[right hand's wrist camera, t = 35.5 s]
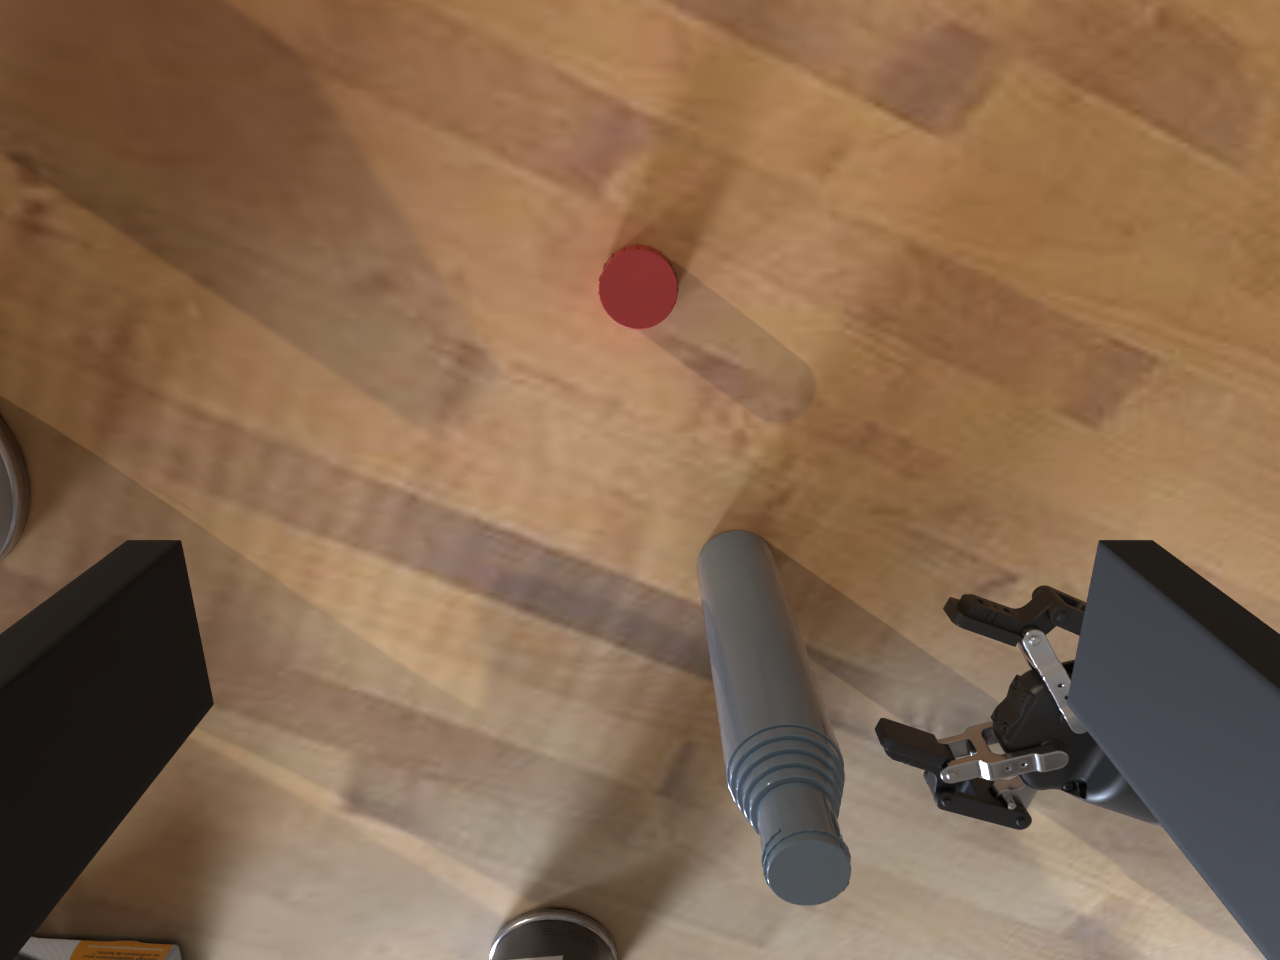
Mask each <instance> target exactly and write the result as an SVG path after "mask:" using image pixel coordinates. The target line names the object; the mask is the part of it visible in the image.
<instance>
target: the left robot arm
mask: <svg viewBox="0 0 1280 960" xmlns="http://www.w3.org/2000/svg"><path fill="white" fill-rule="evenodd" d="M1085 608H1086V602H1083V601H1081V600H1079V599H1077V598H1074V597H1072V596H1070V595H1067V594H1065V593H1063V592H1061V591H1058V590H1056V589H1054V588H1051V587H1049V586H1040V587H1038V588H1036V589H1035V590H1034V591H1033V594H1032V600H1031V601H1030V602H1029V603H1028V604H1026V605H1025V606H1023V607H1021V608H1017V609H1013V608H1009V607H1006V606H1003V605H1001V604H998V603H995V602H992V601H989V600H987V599H984V598H981V597H978V596H975V595H963V596H962V597H961V599H960V600H958V599H955V598H952V597H950V598H949V599H948V601H947V603H946V604H945V606H944V608H943V609H944V611H945V612H946V614H947V615H948V617H949V618H950V620H951V621H952V622H953V623H954V624H955V625H957V626H959V627H961V628H963V629H966V630H969V631H972V632H975V633H978V634H980V635H983V636H986V637H989V638H992V639H995V640H997V641H1000V642H1003V643H1006V644H1009V645H1012V646H1014V647H1015V646H1016V645H1017V643H1018V646H1019V648H1020V650H1021V652H1022V654H1023V656H1024V658H1025V659H1026V661H1027V663H1028V665H1029V667H1030V669H1031V670H1030V671H1027V672H1026V673H1024V674H1023V675H1022V676H1019V675H1016V676H1015V678H1014V680H1013V681H1012V683H1011V684H1010V687H1009V691H1008V694H1007V697H1006V698H1005V699H1004V700H1003V701H1002V702H1001V703H1000V704H999V705H998V706H997V707H996V709H995V710H994V712H993V714H992V715H991V719H992V720H993V721H991V722H987V723H983V724H979V725H974V726H970V727H968V728H967V729H966V730H965V733H964V734H961V735H957V736H953V737H948V738H944V739H940V740H937V739H936V737H935V735H933V734H930V733H927V732H924V731H921V730H918V729H915V728H912V727H910V726H907V725H904V724H901V723H898V722H895V721H892V720H889V719H886V718H881V719H880V720H879V722H878V724H877V725H876V727H875V731H876V734H877V736H878V739H879V741H880V743H881V745H882V746H883V747H884V750H885V752H886V754H887V755H888V756H889V757H890V758H892V759H893V760H896V761H899V762H902V763H905V764H909V765H911V766H914V767H917V768H920V769H923V770H925V772H924V778H925V780H926V783H927V784H928V786H929V788H930V790H931V792H932V794H933V797H934V800H935V802H936V805H937V806H938V808H940V809H942V810H946V811H949V812H953V813H957V814H961V815H965V816H968V817H972V818H976V819H980V820H983V821H987V822H991V823H995V824H999V825H1002V826H1006V827H1010V828H1014V829H1018V830H1022V829H1025V828H1027V827H1028V826H1029V825H1030V824H1031V821H1032V819H1031V817H1030V815H1029V813H1028V812H1027V807H1028V806H1029V804H1030V802H1031V801H1032V799H1033V797H1034V795H1035V794H1036V792H1037V790H1046V789H1059V790H1062V791H1065V792H1067V793H1069V794H1071V795H1073V796H1075V797H1076V798H1079V799H1081V800H1083V801H1085V802H1088V803H1091V804H1094V805H1097V806H1100V807H1103V808H1106V809H1109V810H1112V811H1115V812H1118V813H1121V814H1124V815H1127V816H1130V817H1133V818H1136V819H1139V820H1142V821H1145V822H1148V823H1151V824H1154V825H1157V826H1161V827H1162V825H1161V824H1160V823H1159V822H1158V820H1157V819H1156V818H1155V816H1154V815H1153V814H1152V813H1151V811H1150V810H1149V809H1148V808H1147V806H1146V805H1145V804H1144V802H1143V801H1142V800H1141V799H1140V797H1139V796H1138V795H1137V794H1136V792H1135V791H1134V790H1133V788H1132V787H1131V786H1130V785H1129V783H1128V782H1127V781H1126V780H1125V778H1124V777H1123V776H1122V774H1121V773H1120V772H1119V771H1118V769H1117V768H1116V767H1115V766H1114V764H1113V763H1112V762H1111V760H1110V759H1109V758H1108V757H1107V755H1106V754H1105V753H1104V752H1103V750H1102V749H1101V748H1100V746H1099V745H1098V744H1097V743H1096V741H1095V740H1094V739H1093V738H1092V736H1091V735H1090V734H1089V732H1088V731H1087V730H1086V729H1085V727H1084V726H1083V725H1082V724H1081V722H1080V721H1079V720H1078V718H1077V717H1076V716H1075V715H1074V713H1073V712H1072V711H1071V710H1070V708H1069V707H1068V706H1067V704H1066V703H1067V698H1068V693H1069V688H1070V683H1071V678H1072V673H1073V668H1074V663H1075V660H1072V661H1067V662H1063V663H1060V661H1059V660H1058V658H1057V656H1056V655H1055V653H1054V651H1053V649H1052V647H1051V645H1050V643H1049V641H1048V639H1047V638H1046V636H1045V635H1046V634H1047V633H1049V632H1050V631H1051V630H1052V629H1053V628H1054V627H1056V626H1059V627H1061V628H1063V629H1066V630H1068V631H1070V632H1073V633H1075V634H1077V635H1079V636H1080V633H1081V628H1082V623H1083V618H1084V613H1085ZM995 743H999V744H1000V745H1001V747H1002V749H1003V750H1004V752H1005V754H1002V755H998V754H994V753H992V752H991V750H990V749H989V747H988V745H990V744H995ZM967 755H972V756H969V757H964V758H960V759H955V758H958V757H962V756H967ZM1015 775H1017V777H1015V778H1014V779H1011V780H1001V779H1002V778H1007V777H1011V776H1015ZM979 777H984V778H986V779H988V780H986V779H982V778H979ZM990 780H993V781H990ZM489 960H617V951H616V947H615V944H614V942H613V940H612V938H611V936H610V935H609V933H608V932H607V931H606V930H605V929H604V928H603V927H602V926H601V925H600V924H598V923H597V922H596V921H594V920H593V919H591V918H589V917H587V916H585V915H583V914H580V913H577V912H574V911H570V910H564V909H540V910H534V911H530V912H527V913H524V914H522V915H519V916H517V917H515V918H514V919H512V920H510V921H509V922H508V923H507V924H505V925H504V926H503V927H502V928H501V929H500V931H499V932H498V933H497V935H496V936H495V938H494V941H493V943H492V947H491V952H490V958H489Z"/></svg>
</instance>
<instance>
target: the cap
mask: <svg viewBox="0 0 1280 960" xmlns="http://www.w3.org/2000/svg"><path fill="white" fill-rule="evenodd" d="M676 278H677V275H676V272H674V270H673V268H672V265H671V262H670V260H669V261H668V259H667V258H666V257H665V256H664V255H663V254H662V252H661V251H660V252H659V251H658V250H656V249H654V248H651V247H650V246H644V245H637V244H636V245H633V246H628V247H623V249H621V250H619V251H617V252H616V253H615V254H614V253H613V254H612V257H611V258H610V259H609V260H608V262H607V263H605V264H604V267H603V272H602V275H600V278H599V281H600V282H599V293H598V294H599V296H600V300H601V304H602V307H603V308H604V310H605V311H606V313H607V314H608V315H609V317H610V318H612V319H613V320H614V321H615V322H617V323H618V324H620V325H622V326H624V327H627V328H631V329H645V328H649V327H652V326H655V325H657V324H658V323H660V322H661V321H663V320H664V319H665V318H666V317H667V316H668V315H669V314H670V312H671V311H672V309H673V307H674V305H675V304H676V299H677V293H678V286H677V280H676Z"/></svg>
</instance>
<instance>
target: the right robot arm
mask: <svg viewBox="0 0 1280 960" xmlns="http://www.w3.org/2000/svg"><path fill="white" fill-rule="evenodd" d="M28 508H29V484H28V478H27V472H26V468H25V465H24V461H23V458H22V455H21V453H20V450H19V448H18V446H17V444H16V442H15V440H14V437H13V435H12V434H11V432H10V430H9V429H8V427H7V426H6V424H5V422H4V421H3V420H2V418H1V417H0V561H1V560H2V559H3V558H5V557H6V556H7V555H8V554H9V552H10V551H11V550H12V548H13V547H14V546H15V544H16V543H17V541H18V539H19V538H20V536H21V533H22V531H23V529H24V526H25V523H26V519H27V515H28ZM213 704H214V703H213V698H212V693H211V688H210V683H209V678H208V673H207V668H206V663H205V658H204V653H203V648H202V643H201V638H200V633H199V628H198V623H197V618H196V613H195V608H194V603H193V598H192V593H191V588H190V583H189V578H188V573H187V568H186V563H185V558H184V553H183V548H182V543H181V540H127V541H126V542H125V543H123V544H122V545H120V546H119V547H118V548H116V549H115V550H114V551H112V552H111V553H110V554H108V555H107V556H106V557H104V558H103V559H102V560H100V561H99V562H97V563H96V564H95V565H93V566H92V567H91V568H89V569H88V570H87V571H85V572H84V573H83V574H81V575H80V576H79V577H77V578H76V579H74V580H73V581H72V582H70V583H69V584H68V585H66V586H65V587H64V588H62V589H61V590H60V591H58V592H57V593H56V594H54V595H53V596H51V597H50V598H49V599H47V600H46V601H45V602H43V603H42V604H41V605H39V606H38V607H37V608H35V609H34V610H33V611H31V612H30V613H28V614H27V615H26V616H24V617H23V618H22V619H20V620H19V621H18V622H16V623H15V624H14V625H12V626H11V627H10V628H8V629H7V630H5V631H4V632H3V633H1V634H0V960H13V959H14V958H15V956H16V955H17V954H18V953H19V951H20V950H21V949H22V948H23V946H24V945H25V944H26V942H27V941H28V940H29V939H30V937H31V936H32V935H33V934H34V932H35V931H36V930H37V928H38V927H39V926H40V925H41V923H42V922H43V921H44V920H45V918H46V917H47V916H48V914H49V913H50V912H51V911H52V909H53V908H54V907H55V906H56V904H57V903H58V902H59V900H60V899H61V898H62V897H63V895H64V894H65V893H66V892H67V890H68V889H69V888H70V886H71V885H72V884H73V883H74V881H75V880H76V879H77V878H78V876H79V875H80V874H81V872H82V871H83V870H84V869H85V867H86V866H87V865H88V864H89V862H90V861H91V860H92V858H93V857H94V856H95V855H96V853H97V852H98V851H99V850H100V848H101V847H102V846H103V844H104V843H105V842H106V841H107V839H108V838H109V837H110V836H111V834H112V833H113V832H114V830H115V829H116V828H117V827H118V825H119V824H120V823H121V822H122V820H123V819H124V818H125V816H126V815H127V814H128V813H129V811H130V810H131V809H132V808H133V806H134V805H135V804H136V802H137V801H138V800H139V799H140V797H141V796H142V795H143V794H144V792H145V791H146V790H147V788H148V787H149V786H150V785H151V783H152V782H153V781H154V780H155V778H156V777H157V776H158V774H159V773H160V772H161V771H162V769H163V768H164V767H165V766H166V764H167V763H168V762H169V760H170V759H171V758H172V757H173V755H174V754H175V753H176V752H177V750H178V749H179V748H180V746H181V745H182V744H183V743H184V741H185V740H186V739H187V738H188V736H189V735H190V734H191V732H192V731H193V730H194V729H195V727H196V726H197V725H198V724H199V722H200V721H201V720H202V718H203V717H204V716H205V715H206V713H207V712H208V711H209V710H210V708H211V707H212V706H213ZM1066 704H1067V706H1068V707H1069V708H1070V710H1071V711H1072V712H1073V713H1074V715H1075V716H1076V717H1077V718H1078V720H1079V721H1080V722H1081V724H1082V725H1083V726H1084V727H1085V729H1086V730H1087V731H1088V732H1089V734H1090V735H1091V736H1092V738H1093V739H1094V740H1095V741H1096V743H1097V744H1098V745H1099V746H1100V748H1101V749H1102V750H1103V752H1104V753H1105V754H1106V755H1107V757H1108V758H1109V759H1110V760H1111V762H1112V763H1113V764H1114V766H1115V767H1116V768H1117V769H1118V771H1119V772H1120V773H1121V774H1122V776H1123V777H1124V778H1125V780H1126V781H1127V782H1128V783H1129V785H1130V786H1131V787H1132V788H1133V790H1134V791H1135V792H1136V794H1137V795H1138V796H1139V797H1140V799H1141V800H1142V801H1143V802H1144V804H1145V805H1146V806H1147V808H1148V809H1149V810H1150V811H1151V813H1152V814H1153V815H1154V816H1155V818H1156V819H1157V820H1158V822H1159V823H1160V824H1161V825H1162V827H1163V828H1164V829H1165V830H1166V832H1167V833H1168V834H1169V836H1170V837H1171V838H1172V839H1173V841H1174V842H1175V843H1176V844H1177V846H1178V847H1179V848H1180V850H1181V851H1182V852H1183V853H1184V855H1185V856H1186V857H1187V858H1188V860H1189V861H1190V862H1191V864H1192V865H1193V866H1194V867H1195V869H1196V870H1197V871H1198V872H1199V874H1200V875H1201V876H1202V878H1203V879H1204V880H1205V881H1206V883H1207V884H1208V885H1209V886H1210V888H1211V889H1212V890H1213V892H1214V893H1215V894H1216V895H1217V897H1218V898H1219V899H1220V900H1221V902H1222V903H1223V904H1224V906H1225V907H1226V908H1227V909H1228V911H1229V912H1230V913H1231V914H1232V916H1233V917H1234V918H1235V920H1236V921H1237V922H1238V923H1239V925H1240V926H1241V927H1242V928H1243V930H1244V931H1245V932H1246V934H1247V935H1248V936H1249V937H1250V939H1251V940H1252V941H1253V942H1254V944H1255V945H1256V946H1257V948H1258V949H1259V950H1260V951H1261V953H1262V954H1263V955H1264V956H1265V958H1266V959H1267V960H1280V634H1279V633H1277V632H1276V631H1275V630H1273V629H1272V628H1270V627H1269V626H1268V625H1266V624H1265V623H1264V622H1262V621H1261V620H1260V619H1258V618H1257V617H1256V616H1254V615H1253V614H1252V613H1250V612H1249V611H1247V610H1246V609H1245V608H1243V607H1242V606H1241V605H1239V604H1238V603H1237V602H1235V601H1234V600H1233V599H1231V598H1230V597H1229V596H1227V595H1226V594H1224V593H1223V592H1222V591H1220V590H1219V589H1218V588H1216V587H1215V586H1214V585H1212V584H1211V583H1210V582H1208V581H1207V580H1206V579H1204V578H1203V577H1201V576H1200V575H1199V574H1197V573H1196V572H1195V571H1193V570H1192V569H1191V568H1189V567H1188V566H1187V565H1185V564H1184V563H1183V562H1181V561H1180V560H1178V559H1177V558H1176V557H1174V556H1173V555H1172V554H1170V553H1169V552H1168V551H1166V550H1165V549H1164V548H1162V547H1161V546H1160V545H1158V544H1157V543H1155V542H1154V541H1153V540H1099V543H1098V548H1097V553H1096V558H1095V563H1094V568H1093V573H1092V578H1091V583H1090V588H1089V593H1088V598H1087V603H1086V608H1085V613H1084V618H1083V623H1082V628H1081V633H1080V638H1079V643H1078V648H1077V653H1076V658H1075V663H1074V668H1073V673H1072V678H1071V683H1070V688H1069V693H1068V698H1067V703H1066Z"/></svg>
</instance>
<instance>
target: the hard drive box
mask: <svg viewBox="0 0 1280 960" xmlns="http://www.w3.org/2000/svg"><path fill="white" fill-rule="evenodd" d="M13 960H182V959H181V954H180V949H179V946H178V945H171V944H151V943H142V942H139V941H121V940H120V941H90V940H67V939H48V938H37V937H34V936H31V937H30V939H29V940H28V941H27V942H26V944H25V945H24V946H23V948H22V949H21V950H20V951H19V953H18V954H17V955H16V956H15V958H14V959H13Z"/></svg>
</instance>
